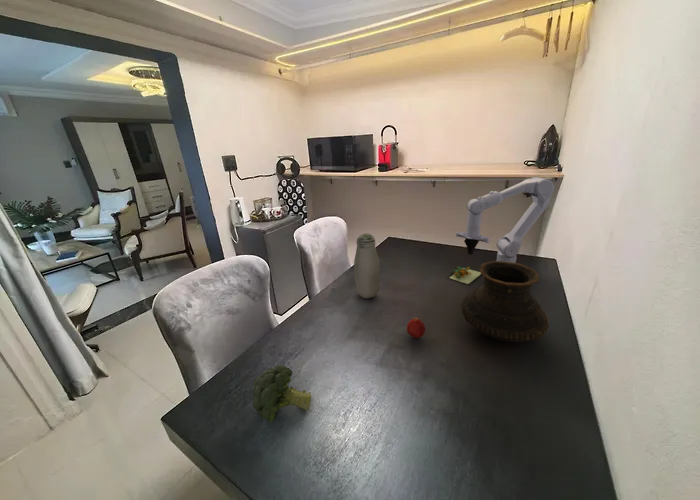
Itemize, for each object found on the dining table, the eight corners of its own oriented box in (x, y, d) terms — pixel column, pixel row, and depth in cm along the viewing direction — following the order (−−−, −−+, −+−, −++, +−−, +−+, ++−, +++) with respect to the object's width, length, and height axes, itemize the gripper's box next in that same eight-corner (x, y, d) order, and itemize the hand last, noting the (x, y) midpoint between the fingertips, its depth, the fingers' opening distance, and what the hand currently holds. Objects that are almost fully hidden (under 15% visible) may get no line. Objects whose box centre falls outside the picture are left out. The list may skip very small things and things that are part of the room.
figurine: (447, 271, 123) (463, 277, 117) (461, 261, 129) (477, 265, 123) (447, 277, 124) (463, 282, 118) (460, 266, 131) (477, 271, 125)
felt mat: (463, 268, 131) (463, 267, 131) (482, 273, 125) (482, 272, 124) (449, 278, 123) (449, 277, 122) (468, 284, 116) (468, 283, 116)
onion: (413, 329, 91) (413, 310, 88) (428, 336, 87) (429, 316, 84) (403, 338, 88) (403, 318, 85) (418, 346, 84) (419, 325, 81)
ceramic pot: (447, 335, 87) (451, 275, 79) (474, 302, 103) (481, 249, 95) (533, 373, 71) (551, 302, 63) (550, 327, 87) (566, 266, 79)
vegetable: (302, 436, 58) (237, 415, 57) (298, 425, 69) (244, 407, 68) (321, 378, 63) (262, 357, 62) (315, 377, 75) (265, 359, 74)
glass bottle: (368, 305, 107) (365, 240, 97) (352, 296, 114) (347, 235, 104) (384, 295, 113) (383, 233, 102) (368, 287, 120) (365, 229, 110)
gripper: (453, 225, 122) (451, 252, 127) (486, 231, 111) (482, 260, 116) (461, 222, 126) (459, 248, 131) (493, 227, 115) (489, 255, 120)
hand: (470, 253), depth 124 cm, fingers closed
